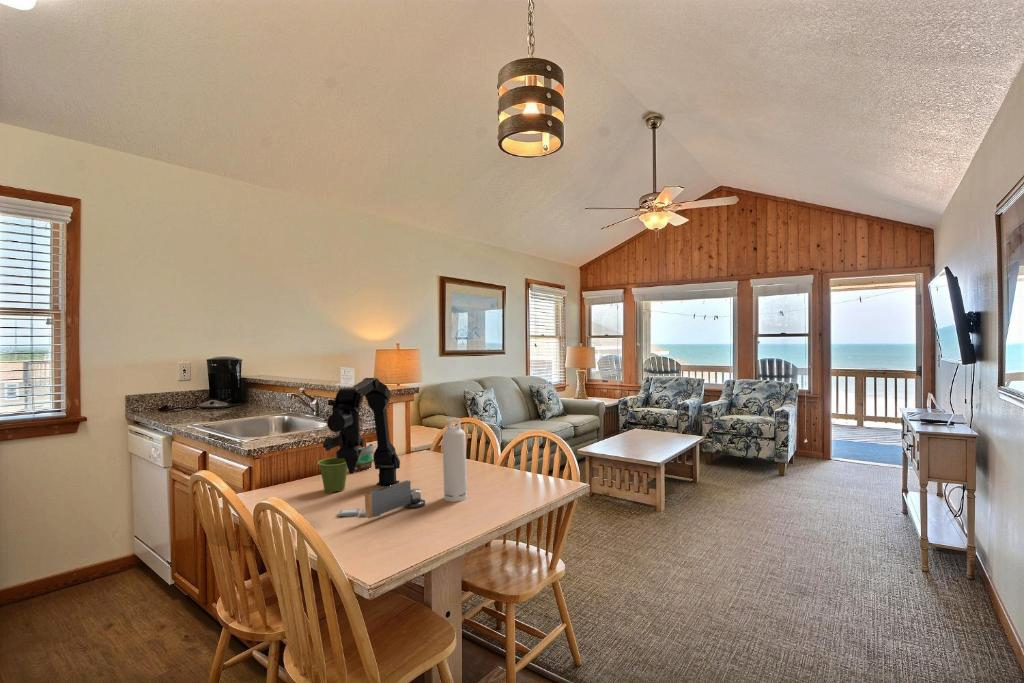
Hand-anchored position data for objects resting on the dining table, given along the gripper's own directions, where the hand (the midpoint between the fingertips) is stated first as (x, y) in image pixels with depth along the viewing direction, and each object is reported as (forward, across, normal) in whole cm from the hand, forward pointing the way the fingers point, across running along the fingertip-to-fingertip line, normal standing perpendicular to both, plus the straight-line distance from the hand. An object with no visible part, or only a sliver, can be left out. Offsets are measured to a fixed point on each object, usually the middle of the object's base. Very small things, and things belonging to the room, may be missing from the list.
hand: (351, 473), depth 164 cm
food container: (+13, -58, -2) cm, 59 cm away
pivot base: (+13, -3, +20) cm, 24 cm away
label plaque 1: (+13, +1, -1) cm, 13 cm away
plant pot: (+13, -28, -10) cm, 33 cm away
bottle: (+13, -7, +34) cm, 37 cm away
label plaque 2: (+13, +2, +6) cm, 15 cm away
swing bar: (+12, +3, +14) cm, 18 cm away
